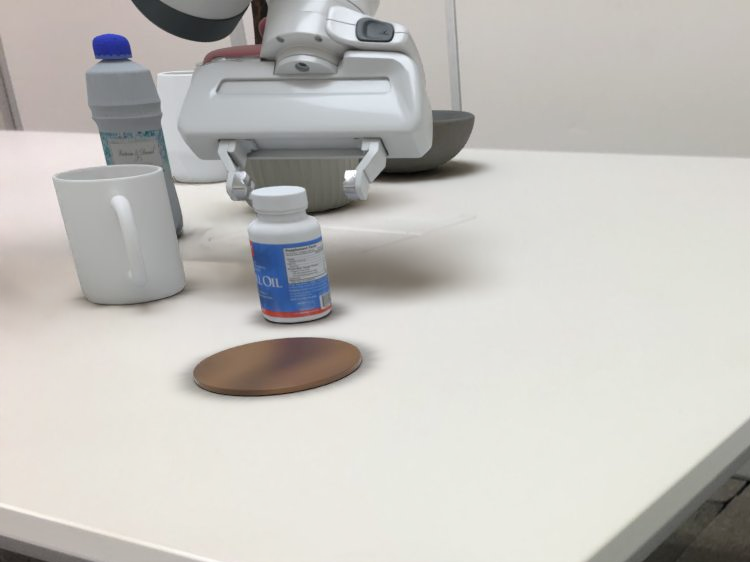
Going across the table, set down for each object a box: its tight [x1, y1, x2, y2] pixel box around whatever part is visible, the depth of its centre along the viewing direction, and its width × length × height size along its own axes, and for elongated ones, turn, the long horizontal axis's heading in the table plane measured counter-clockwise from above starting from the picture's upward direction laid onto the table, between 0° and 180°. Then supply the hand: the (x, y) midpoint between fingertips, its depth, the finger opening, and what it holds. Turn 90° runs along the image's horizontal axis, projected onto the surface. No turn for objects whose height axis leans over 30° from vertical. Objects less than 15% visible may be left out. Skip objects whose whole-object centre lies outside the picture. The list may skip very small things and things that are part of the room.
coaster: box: [192, 336, 362, 397], centre depth 70 cm, size 11×11×1 cm
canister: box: [195, 17, 359, 214], centre depth 118 cm, size 18×18×21 cm
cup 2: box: [156, 69, 228, 184], centre depth 141 cm, size 13×13×14 cm
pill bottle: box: [247, 186, 333, 324], centre depth 79 cm, size 6×5×10 cm
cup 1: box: [51, 164, 186, 305], centre depth 84 cm, size 8×12×10 cm
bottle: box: [84, 33, 184, 237], centre depth 104 cm, size 7×7×20 cm
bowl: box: [359, 109, 476, 174], centre depth 144 cm, size 21×21×8 cm
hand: (296, 196), depth 81 cm, fingers open, 8 cm apart
